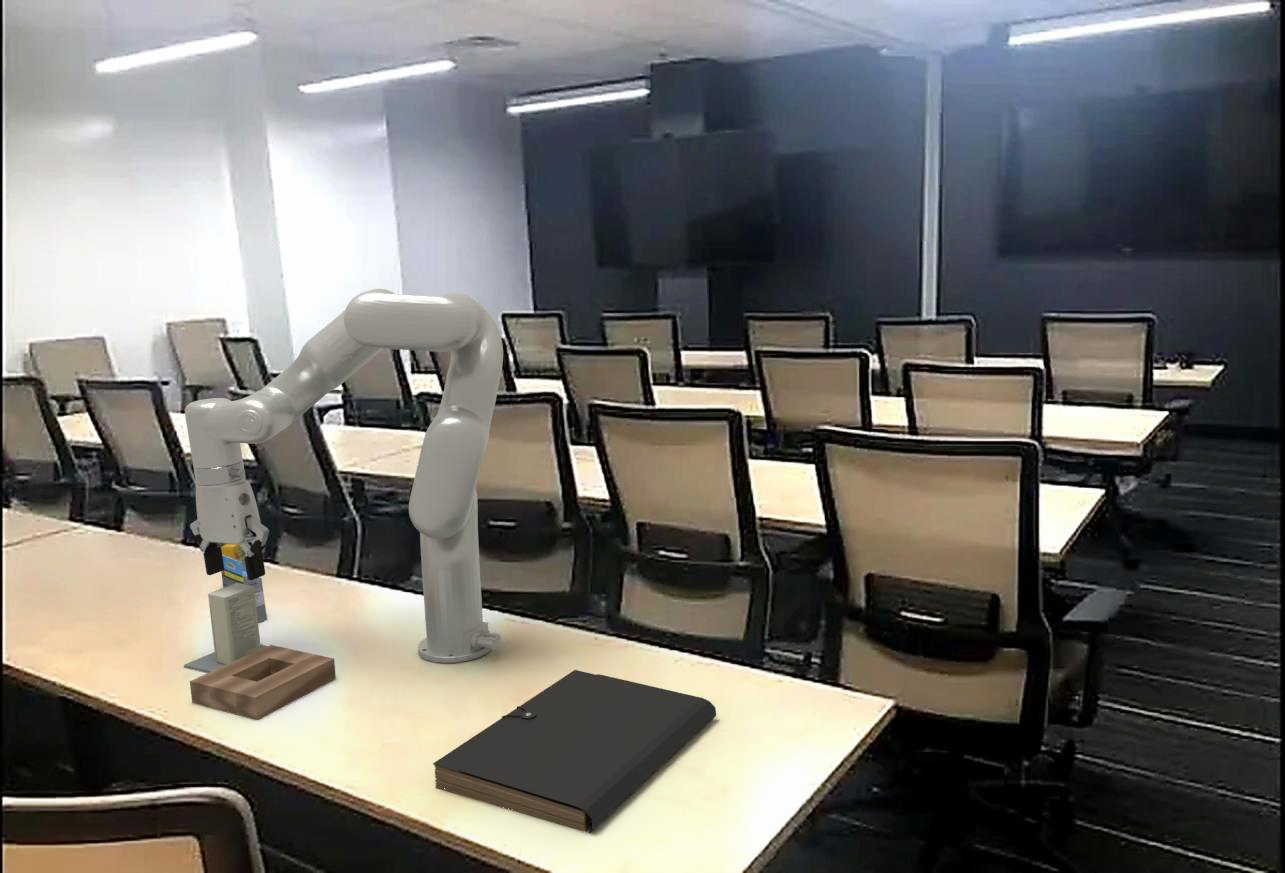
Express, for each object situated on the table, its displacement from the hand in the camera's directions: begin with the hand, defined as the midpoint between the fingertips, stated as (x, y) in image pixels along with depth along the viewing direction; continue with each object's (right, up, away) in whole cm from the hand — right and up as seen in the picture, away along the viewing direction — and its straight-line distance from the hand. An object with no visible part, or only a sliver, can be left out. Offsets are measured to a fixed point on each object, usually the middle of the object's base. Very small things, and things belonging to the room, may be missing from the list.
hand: (236, 575), depth 176 cm
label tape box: (-7, -11, +23) cm, 26 cm away
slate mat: (-1, -15, +3) cm, 15 cm away
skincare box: (0, -15, +2) cm, 15 cm away
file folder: (+59, -20, -32) cm, 70 cm away
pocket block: (+8, -17, -10) cm, 21 cm away
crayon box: (-15, -8, +41) cm, 44 cm away
